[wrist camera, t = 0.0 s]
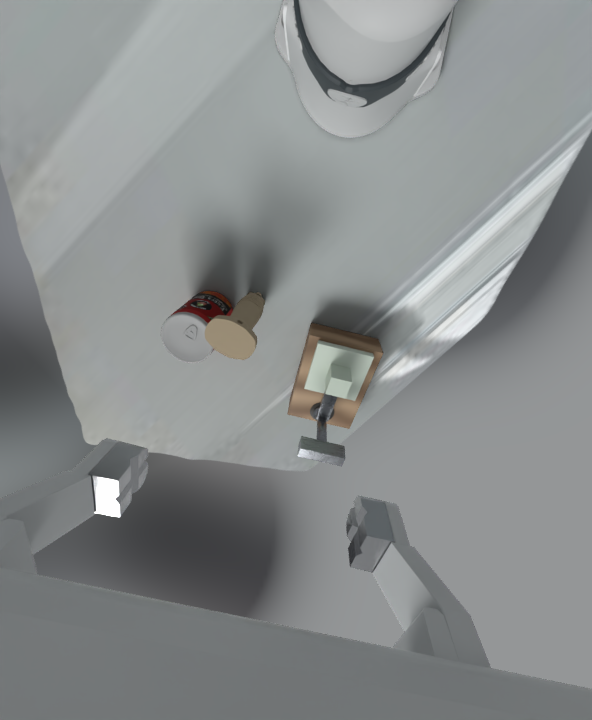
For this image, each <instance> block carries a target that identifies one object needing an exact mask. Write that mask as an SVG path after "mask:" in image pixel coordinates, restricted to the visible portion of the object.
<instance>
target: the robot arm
mask: <svg viewBox="0 0 592 720" xmlns="http://www.w3.org/2000/svg"><path fill="white" fill-rule="evenodd" d="M457 1H458V0H283V3H282V6H281V10H280V14H279V17H278V21H277V25H276V29H275V42H276V46H277V48H278V50H279V52H280V54H281V55H282V57H283V58H284V60H285V61H286V63H287V64H288V65H289V67H290V68H291V70H292V73H293V75H294V79H295V82H296V86H297V90H298V93H299V96H300V98H301V101H302V103H303V105H304V107H305V109H306V110H307V112H308V113H309V115H310V116H311V118H312V119H313V120H314V121H315V122H316V123H317V124H318V125H319V126H320V127H321V128H323V129H324V130H326V131H327V132H329V133H331V134H334V135H337V136H340V137H346V138H354V137H361V136H365V135H368V134H370V133H373V132H375V131H376V130H378V129H380V128H381V127H383V126H384V125H385V124H387V123H388V122H389V121H390V120H391V119H392V118H393V117H394V116H395V115H396V114H397V113H398V112H399V111H400V110H401V109H402V108H403V107H404V106H405V105H406V104H407V103H409V102H410V101H412V100H415V99H417V98H419V97H421V96H423V95H425V94H426V93H428V92H429V91H430V90H432V89H433V87H434V86H435V84H436V83H437V81H438V79H439V76H440V71H441V67H442V62H443V57H444V52H445V47H446V43H447V38H448V33H449V28H450V23H451V19H452V14H453V9H454V6H455V4H456V3H457ZM147 456H148V449H147V448H144V447H140V446H136V445H132V444H128V443H125V442H121V441H116V440H112V439H108V438H106V439H104V440H102V441H101V442H100V443H99V444H98V445H97V446H96V447H95V448H94V449H93V450H92V451H91V452H90V453H89V454H88V455H87V456H86V457H85V458H84V459H83V460H82V461H81V462H80V463H79V464H78V465H77V466H76V467H75V468H74V469H73V470H72V471H64V472H62V473H59V474H57V475H55V476H52V477H50V478H48V479H45V480H43V481H40V482H38V483H35V484H33V485H31V486H28V487H26V488H24V489H21V490H19V491H16V492H14V493H12V494H9V495H7V496H5V497H2V498H0V720H592V689H590V688H585V687H580V686H575V685H570V684H565V683H561V682H555V681H550V680H546V679H541V678H536V677H531V676H526V675H521V674H517V673H512V672H507V671H502V670H497V669H493V668H491V667H490V664H489V662H488V659H487V657H486V654H485V651H484V649H483V646H482V644H481V641H480V639H479V636H478V634H477V631H476V629H475V626H474V624H473V621H472V619H471V616H470V614H469V613H468V612H467V611H466V610H465V608H464V607H463V606H462V605H461V604H460V602H459V601H458V600H457V599H456V597H455V596H454V595H453V594H452V593H451V591H450V590H449V589H448V588H447V586H446V585H445V584H444V583H443V582H442V580H441V579H440V578H439V577H438V576H437V574H436V573H435V572H434V571H433V570H432V568H431V567H430V566H429V565H428V563H427V562H426V561H425V560H424V559H423V557H422V556H421V555H420V554H419V553H418V551H417V550H416V549H415V548H414V547H412V546H410V544H409V541H408V538H407V534H406V531H405V527H404V524H403V521H402V517H401V514H400V511H399V507H398V506H397V504H395V503H390V502H385V501H382V500H377V499H372V498H368V497H363V496H357V497H356V499H355V501H354V506H355V507H354V508H352V509H351V510H350V512H349V514H348V518H347V523H346V531H347V537H348V538H349V540H350V541H351V543H350V545H349V547H348V552H349V562H350V567H352V568H356V569H360V570H364V571H368V572H372V573H373V576H374V578H375V580H376V581H377V583H378V585H379V587H380V589H381V590H382V592H383V594H384V595H385V598H386V599H387V601H388V603H389V605H390V606H391V609H392V610H393V612H394V614H395V616H396V618H397V619H398V621H399V623H400V624H401V627H402V628H403V630H404V634H403V635H402V636H401V637H400V639H399V640H398V641H397V642H396V644H395V645H394V646H393V648H390V647H386V646H381V645H376V644H371V643H366V642H360V641H356V640H352V639H346V638H342V637H337V636H332V635H327V634H322V633H318V632H313V631H308V630H303V629H298V628H293V627H289V626H284V625H279V624H274V623H270V622H264V621H260V620H255V619H250V618H245V617H241V616H236V615H231V614H226V613H221V612H216V611H212V610H207V609H201V608H197V607H192V606H187V605H182V604H178V603H173V602H168V601H163V600H158V599H153V598H148V597H144V596H139V595H134V594H128V593H124V592H119V591H114V590H110V589H105V588H100V587H95V586H90V585H85V584H80V583H76V582H71V581H66V580H61V579H56V578H51V577H46V576H41V575H37V568H36V564H35V561H34V557H33V554H35V553H37V552H38V551H40V550H41V549H43V548H44V547H46V546H47V545H48V544H50V543H52V542H53V541H55V540H56V539H58V538H59V537H61V536H63V535H64V534H66V533H67V532H69V531H70V530H72V529H73V528H75V527H76V526H78V525H79V524H81V523H82V522H84V521H85V520H87V519H88V518H90V517H92V516H93V515H94V514H95V513H100V514H105V515H110V516H116V517H120V516H121V515H122V513H123V512H124V511H125V509H126V508H127V506H128V505H129V503H130V502H131V494H132V493H134V492H136V491H138V490H139V489H140V487H141V486H142V484H143V482H144V480H145V478H146V475H147V471H148V463H147V462H146V461H145V459H146V458H147Z"/></svg>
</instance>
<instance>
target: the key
mask: <svg viewBox="0 0 592 720" xmlns="http://www.w3.org/2000/svg"><path fill="white" fill-rule="evenodd" d="M336 400H337V397H336V396H332V395H328V394H325V392H324V395H323V398H322V400H321V403H320V406H318V407H316V408H315V409H314V411H313V416H314V418H315V419H316V420H317V440H316V439H312V438H307V437H303V436H301V439H300V442H299V448H298V456H299V457H303V458H308V459H312V460H316V461H321V462H325V463H329V464H334V465H338V466H342V465H343V462H344V460H345V448H344V446H342V445H338V444H333V443H329V442H327V432H326V422H328V420H329V418H330V417H331V413H332V410H333V408H334V405H335V402H336Z"/></svg>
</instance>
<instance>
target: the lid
mask: <svg viewBox="0 0 592 720" xmlns="http://www.w3.org/2000/svg"><path fill="white" fill-rule="evenodd" d="M373 359H374V355H373V353H369V352H365V351H361V350H357V349H353V348H349V347H345V346H340V345H336V344H332V343H328V342H324V341H320V340H318V343H317V346H316V349H315V352H314V356H313V359H312V362H311V366H310V369H309V372H308V376H307V379H306V382H305V387H304V389H307V390H311V391H315V392H320V393H324V392H325V394H328V395H332V396H336V397H340V398H344V399H349V400H353V401H355V400H356V398H357V396H358V393H359V391H360V389H361V386H362V384H363V382H364V379H365V377H366V375H367V372H368V370H369V368H370V366H371V363H372V361H373Z"/></svg>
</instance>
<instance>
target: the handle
mask: <svg viewBox="0 0 592 720" xmlns="http://www.w3.org/2000/svg"><path fill="white" fill-rule="evenodd" d="M264 305H265V300H264V299H263V298H262V296H261V293H259V292H257V293H252V292H250V293H248V294H247V295H246V296H244V297H243V298H242V299H241V300H240V301H239V302H238V303H237V305H236V306H235V308H234V310H233V312H232V313H231V315H230V316H224V315H218V316H216V317H214V318H213V319H212V320H211V321H210V322H209V323H208V325H207V326H206V329H205V339H206V340H207V342H208V343H209V344H210V345H211V346H212V347H213V348H214V349H215V350H216V351H218V352H219V353H221V354H223V355H225V356H227V357H229V358H233V359H241V360H245V359H247V358H249V357H250V356H251V355H252V354H253V352H254V350H255V348H256V345H257V336H256V335H255V333H254V332H253V331H252V329H253V327H254V326H255V325H256V323H257V322H258V321H259V319H260V317H261V315H262V312H263V308H264Z"/></svg>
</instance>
